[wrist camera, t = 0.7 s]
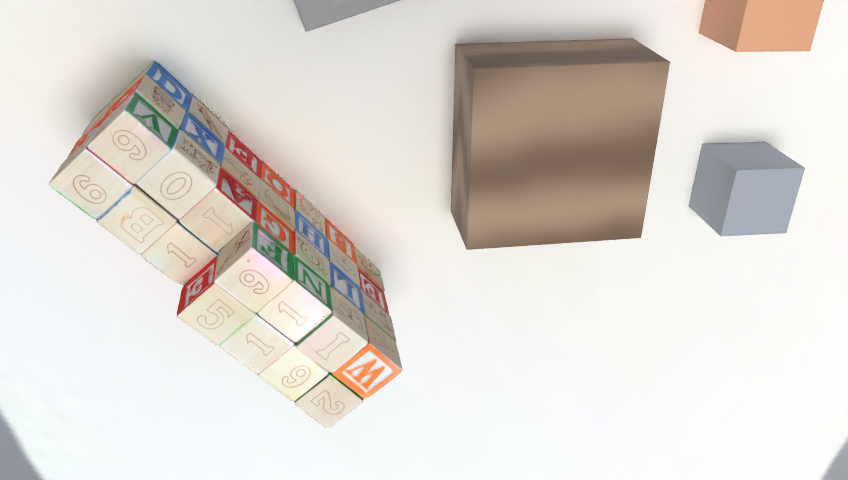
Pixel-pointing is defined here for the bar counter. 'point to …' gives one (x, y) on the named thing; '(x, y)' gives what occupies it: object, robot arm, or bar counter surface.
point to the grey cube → (745, 188)
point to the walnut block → (554, 140)
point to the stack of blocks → (235, 246)
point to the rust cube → (761, 24)
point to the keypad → (333, 10)
